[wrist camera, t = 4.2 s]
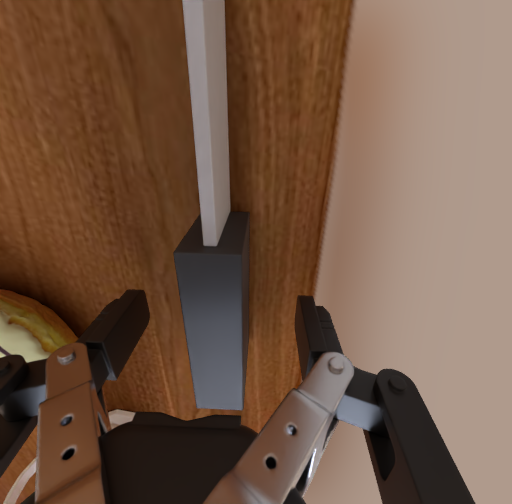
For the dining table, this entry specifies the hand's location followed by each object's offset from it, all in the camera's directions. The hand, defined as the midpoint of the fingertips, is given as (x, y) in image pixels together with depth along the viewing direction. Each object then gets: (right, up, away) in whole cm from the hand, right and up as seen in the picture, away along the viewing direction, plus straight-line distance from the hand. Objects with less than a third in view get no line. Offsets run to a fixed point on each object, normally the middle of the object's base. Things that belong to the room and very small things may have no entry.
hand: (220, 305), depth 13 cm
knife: (0, +6, -1) cm, 6 cm away
